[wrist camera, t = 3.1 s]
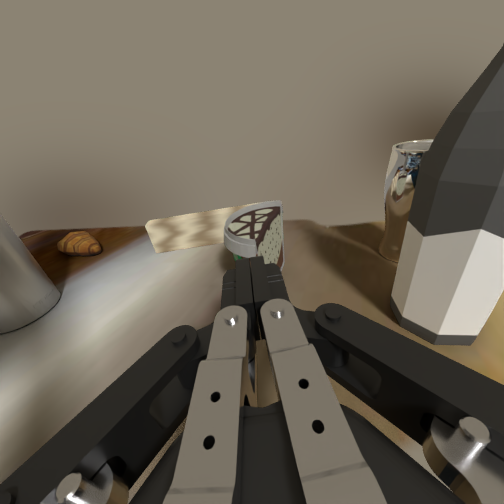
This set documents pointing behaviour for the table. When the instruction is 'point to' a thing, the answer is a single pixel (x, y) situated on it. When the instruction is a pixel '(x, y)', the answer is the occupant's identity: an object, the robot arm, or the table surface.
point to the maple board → (189, 229)
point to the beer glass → (400, 193)
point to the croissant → (79, 244)
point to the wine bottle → (457, 222)
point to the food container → (256, 232)
